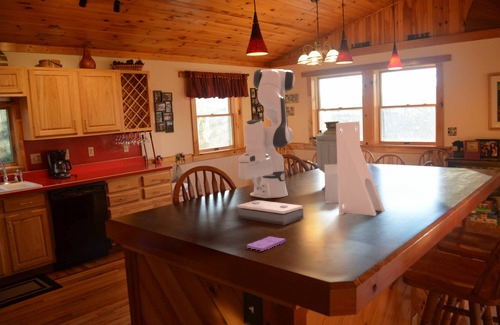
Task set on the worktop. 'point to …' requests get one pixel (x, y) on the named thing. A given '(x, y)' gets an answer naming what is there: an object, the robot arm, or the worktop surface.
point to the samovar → (326, 146)
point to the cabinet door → (270, 206)
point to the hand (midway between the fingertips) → (257, 186)
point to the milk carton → (331, 183)
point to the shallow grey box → (270, 216)
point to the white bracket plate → (354, 174)
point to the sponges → (266, 243)
